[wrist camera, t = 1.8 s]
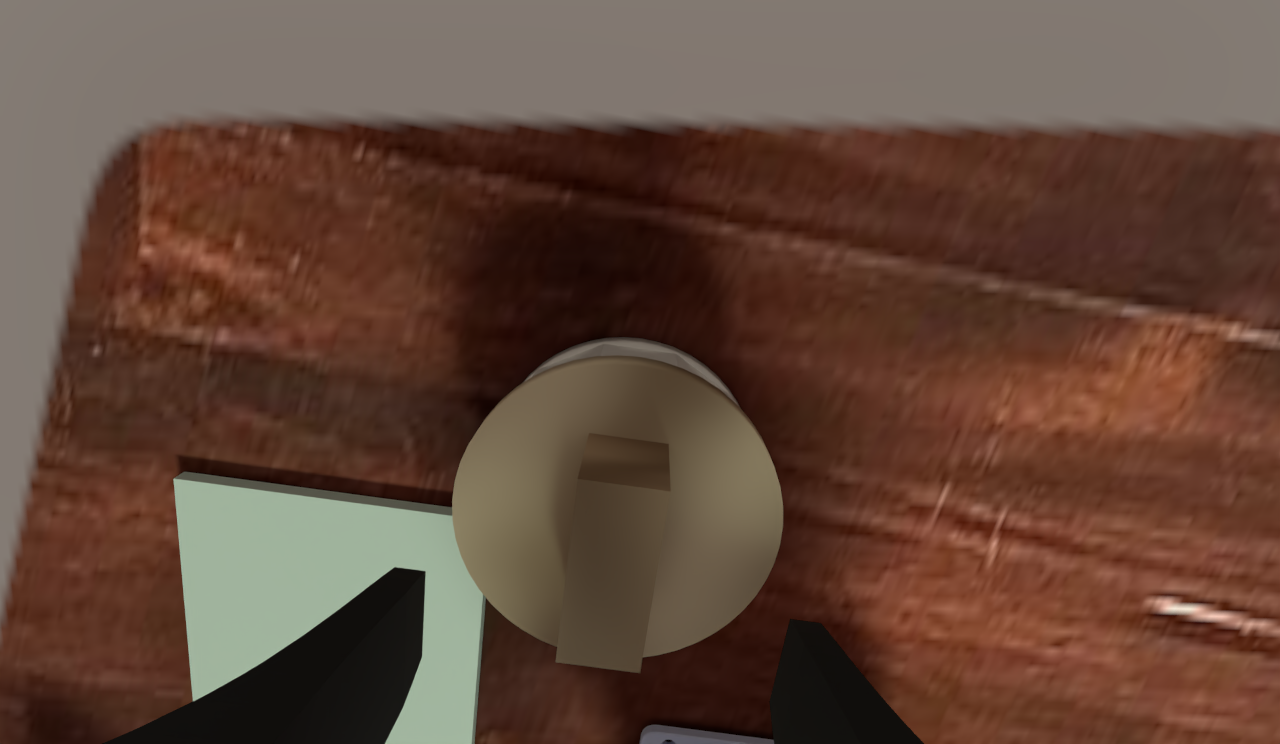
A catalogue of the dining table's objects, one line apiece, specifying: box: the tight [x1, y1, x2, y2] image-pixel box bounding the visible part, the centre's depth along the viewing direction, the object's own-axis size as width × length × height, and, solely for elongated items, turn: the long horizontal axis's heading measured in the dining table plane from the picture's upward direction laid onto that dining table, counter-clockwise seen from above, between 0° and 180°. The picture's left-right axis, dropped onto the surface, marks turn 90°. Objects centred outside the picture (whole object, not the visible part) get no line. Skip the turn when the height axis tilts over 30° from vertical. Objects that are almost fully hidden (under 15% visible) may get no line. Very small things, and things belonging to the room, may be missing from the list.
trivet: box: [174, 472, 486, 744], centre depth 23 cm, size 10×10×1 cm
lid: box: [452, 355, 783, 673], centre depth 16 cm, size 9×9×3 cm
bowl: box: [523, 337, 739, 406], centre depth 19 cm, size 8×8×3 cm
